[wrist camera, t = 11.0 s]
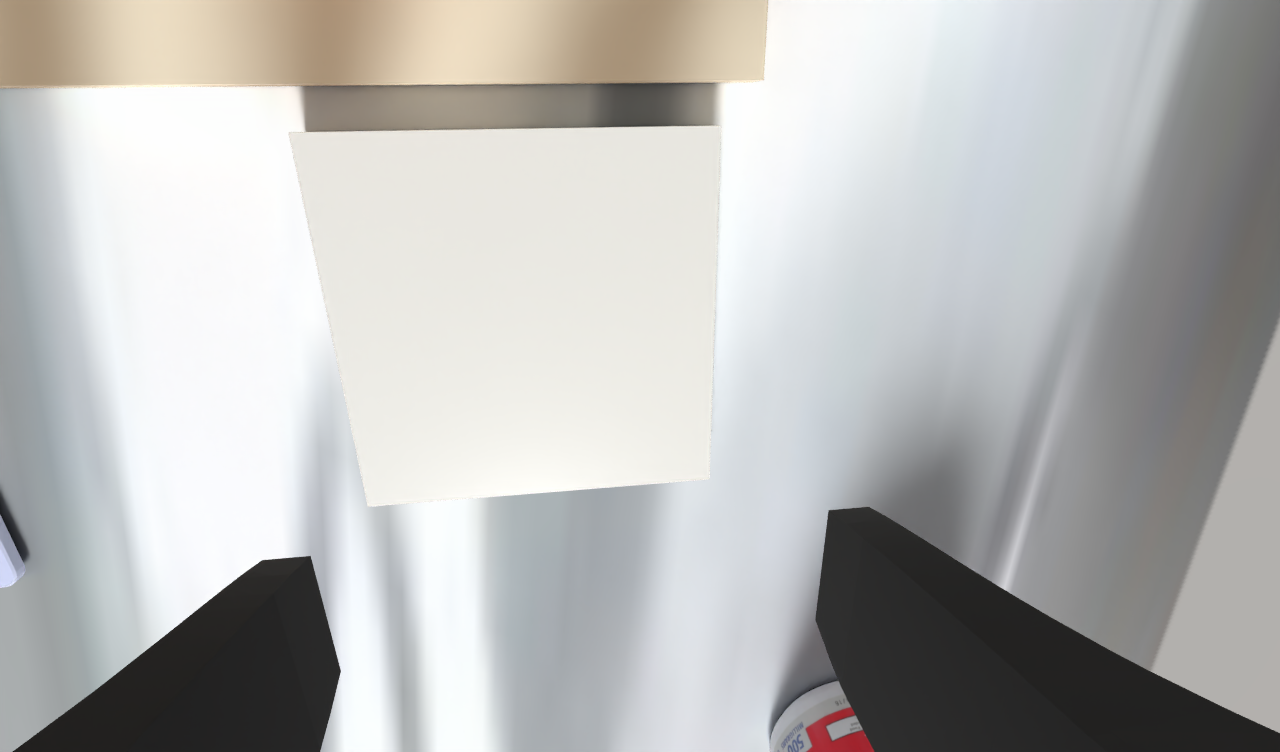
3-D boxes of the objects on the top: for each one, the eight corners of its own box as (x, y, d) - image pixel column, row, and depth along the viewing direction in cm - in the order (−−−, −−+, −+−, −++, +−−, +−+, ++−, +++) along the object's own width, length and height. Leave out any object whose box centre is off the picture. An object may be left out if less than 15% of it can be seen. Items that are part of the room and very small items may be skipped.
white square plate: (376, 487, 19) (367, 506, 18) (304, 131, 15) (288, 132, 14) (702, 462, 20) (709, 479, 19) (711, 125, 16) (721, 125, 15)
